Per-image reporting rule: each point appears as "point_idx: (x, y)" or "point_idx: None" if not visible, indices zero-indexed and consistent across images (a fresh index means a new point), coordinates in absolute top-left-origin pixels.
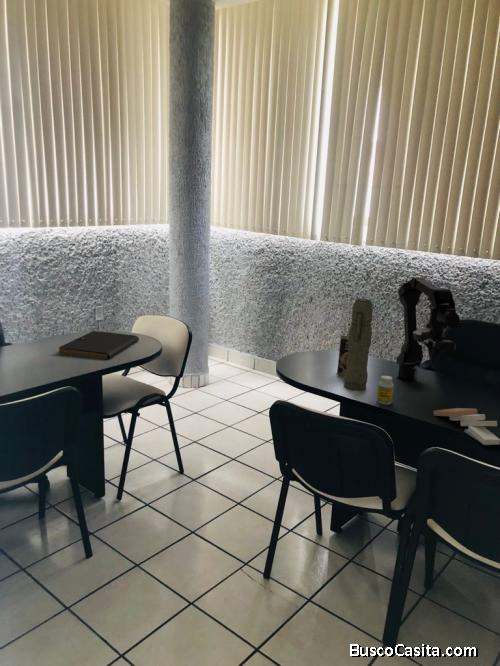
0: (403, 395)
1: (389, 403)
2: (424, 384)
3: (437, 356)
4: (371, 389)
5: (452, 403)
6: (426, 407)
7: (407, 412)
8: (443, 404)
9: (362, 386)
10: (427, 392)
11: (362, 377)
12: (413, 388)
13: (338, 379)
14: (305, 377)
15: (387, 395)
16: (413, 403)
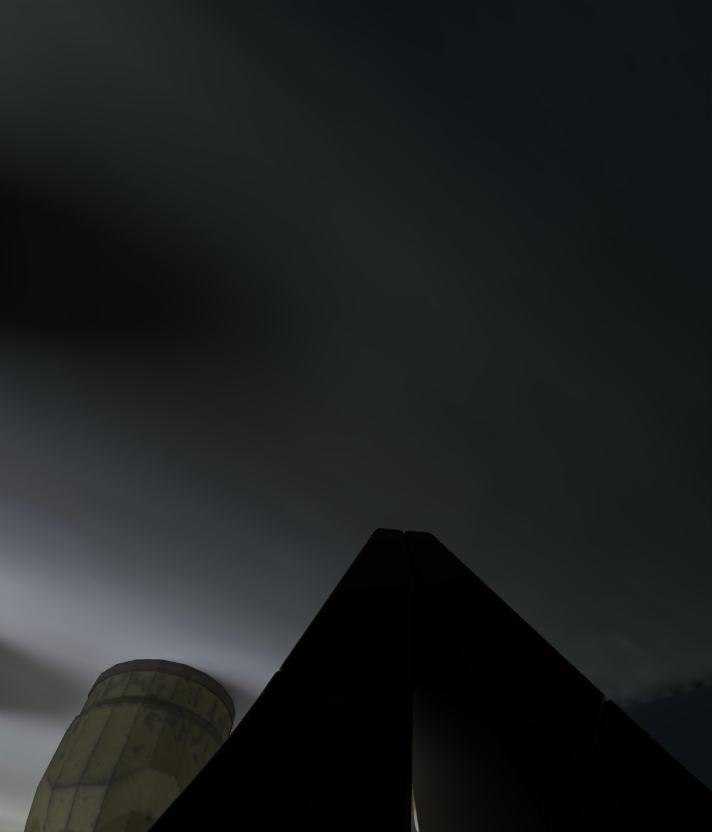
0: (367, 526)
1: None
2: (66, 126)
3: (543, 641)
4: (214, 649)
5: (700, 217)
6: (649, 510)
7: (654, 656)
8: (671, 334)
9: (223, 726)
10: (337, 276)
11: None
12: (206, 348)
13: (16, 722)
14: (6, 822)
15: None
16: (541, 549)
